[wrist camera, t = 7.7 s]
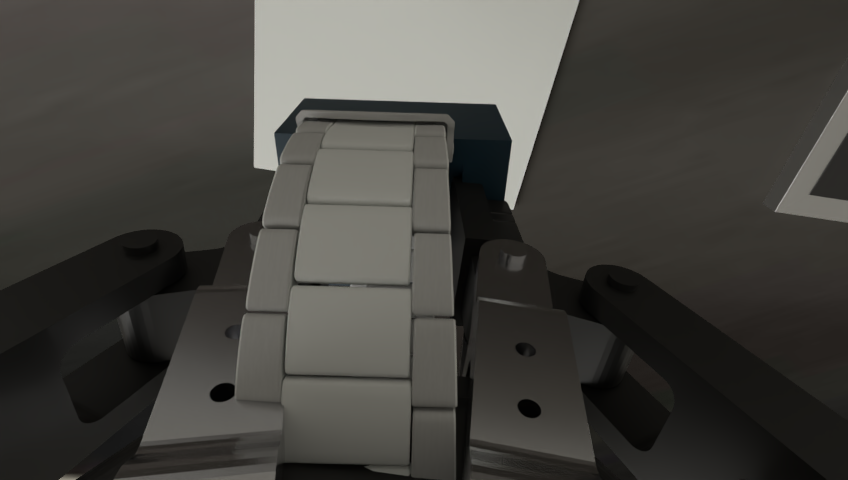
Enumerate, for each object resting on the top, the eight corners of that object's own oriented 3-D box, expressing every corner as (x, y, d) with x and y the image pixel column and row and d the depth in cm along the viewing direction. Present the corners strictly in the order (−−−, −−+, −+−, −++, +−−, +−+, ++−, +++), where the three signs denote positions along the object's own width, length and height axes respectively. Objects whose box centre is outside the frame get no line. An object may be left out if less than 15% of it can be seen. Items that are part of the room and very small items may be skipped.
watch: (322, 276, 17) (187, 684, 7) (297, 31, 13) (-77, 252, 3) (479, 281, 17) (543, 692, 7) (506, 38, 13) (727, 275, 3)
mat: (256, 164, 32) (254, 167, 32) (258, -81, 25) (255, -82, 25) (512, 206, 34) (513, 209, 34) (579, -11, 27) (582, -10, 27)
